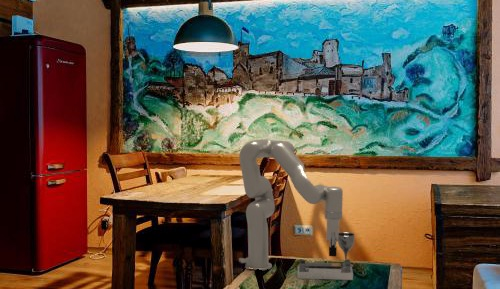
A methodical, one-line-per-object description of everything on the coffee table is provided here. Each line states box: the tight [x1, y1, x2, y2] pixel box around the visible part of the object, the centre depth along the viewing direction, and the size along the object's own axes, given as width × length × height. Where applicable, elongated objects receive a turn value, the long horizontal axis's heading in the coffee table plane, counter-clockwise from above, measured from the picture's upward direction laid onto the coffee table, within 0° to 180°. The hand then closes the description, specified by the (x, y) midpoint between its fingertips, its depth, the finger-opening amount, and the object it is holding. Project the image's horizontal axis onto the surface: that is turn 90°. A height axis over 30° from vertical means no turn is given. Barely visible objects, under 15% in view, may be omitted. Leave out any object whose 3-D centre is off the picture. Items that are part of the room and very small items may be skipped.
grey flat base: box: [297, 258, 354, 281], centre depth 244 cm, size 24×10×7 cm, turn 83°
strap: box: [302, 262, 344, 269], centre depth 244 cm, size 18×5×1 cm, turn 83°
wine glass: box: [337, 231, 355, 268], centre depth 260 cm, size 8×8×15 cm
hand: (332, 255), depth 243 cm, fingers closed
